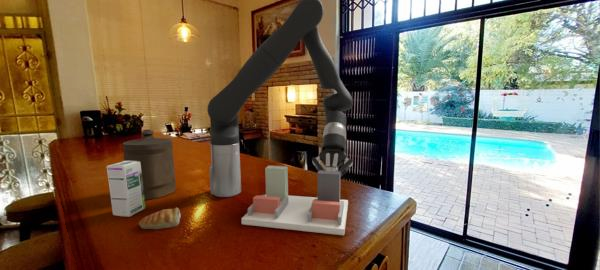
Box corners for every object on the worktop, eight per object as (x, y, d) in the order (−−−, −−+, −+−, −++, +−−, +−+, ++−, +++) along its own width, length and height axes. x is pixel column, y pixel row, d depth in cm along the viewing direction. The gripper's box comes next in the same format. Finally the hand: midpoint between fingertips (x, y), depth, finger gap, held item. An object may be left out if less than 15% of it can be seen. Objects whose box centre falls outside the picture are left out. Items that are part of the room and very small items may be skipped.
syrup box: (129, 217, 71) (124, 165, 69) (111, 215, 72) (105, 164, 70) (146, 208, 76) (141, 160, 74) (129, 207, 77) (124, 160, 75)
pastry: (137, 234, 62) (135, 219, 61) (142, 222, 68) (141, 208, 68) (179, 227, 65) (178, 212, 65) (181, 216, 72) (180, 203, 71)
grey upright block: (317, 208, 72) (317, 173, 70) (319, 203, 74) (319, 170, 73) (339, 210, 70) (339, 174, 69) (340, 205, 73) (340, 171, 72)
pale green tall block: (266, 200, 77) (265, 168, 76) (269, 196, 80) (268, 165, 79) (285, 202, 76) (284, 169, 75) (288, 198, 79) (287, 166, 77)
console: (241, 224, 66) (240, 203, 65) (266, 198, 83) (266, 181, 83) (344, 235, 60) (344, 213, 59) (348, 204, 77) (348, 187, 77)
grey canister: (176, 183, 100) (171, 126, 97) (176, 195, 86) (170, 130, 83) (130, 189, 93) (124, 128, 90) (123, 203, 80) (115, 133, 77)
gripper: (312, 131, 82) (305, 180, 72) (355, 132, 79) (353, 183, 69) (315, 145, 88) (308, 192, 78) (354, 146, 85) (353, 195, 75)
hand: (329, 188), depth 74 cm, fingers closed
